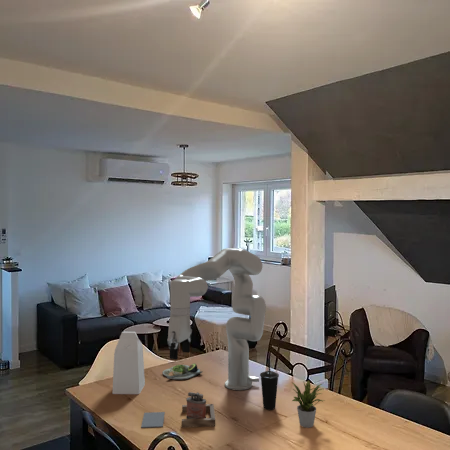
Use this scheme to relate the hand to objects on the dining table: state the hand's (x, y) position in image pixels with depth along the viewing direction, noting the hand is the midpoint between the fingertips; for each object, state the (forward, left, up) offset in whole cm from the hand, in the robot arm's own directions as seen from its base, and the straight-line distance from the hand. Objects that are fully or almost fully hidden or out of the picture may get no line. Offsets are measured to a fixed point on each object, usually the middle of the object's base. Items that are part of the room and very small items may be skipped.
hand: (180, 355), depth 174 cm
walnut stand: (-7, +1, -24) cm, 25 cm away
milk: (+24, -31, -25) cm, 47 cm away
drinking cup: (-36, -6, -25) cm, 44 cm away
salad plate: (0, -49, -25) cm, 55 cm away
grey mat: (+10, +1, -24) cm, 27 cm away
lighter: (-6, +1, -25) cm, 25 cm away
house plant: (-48, +11, -25) cm, 55 cm away
